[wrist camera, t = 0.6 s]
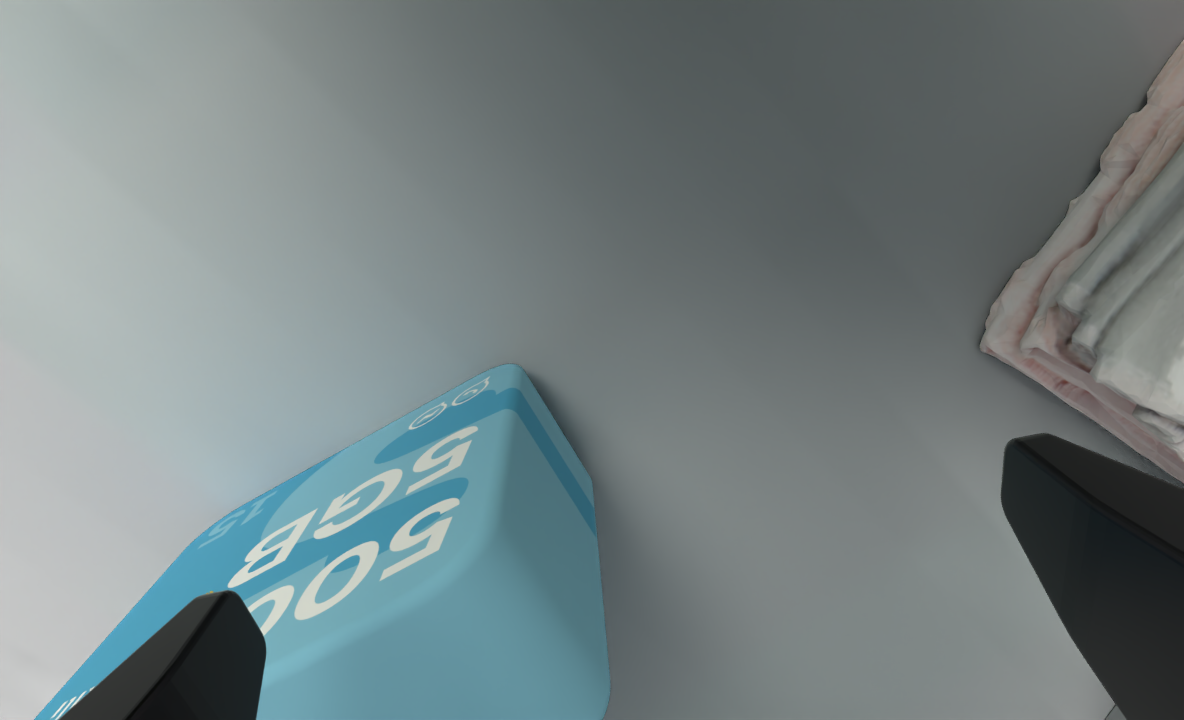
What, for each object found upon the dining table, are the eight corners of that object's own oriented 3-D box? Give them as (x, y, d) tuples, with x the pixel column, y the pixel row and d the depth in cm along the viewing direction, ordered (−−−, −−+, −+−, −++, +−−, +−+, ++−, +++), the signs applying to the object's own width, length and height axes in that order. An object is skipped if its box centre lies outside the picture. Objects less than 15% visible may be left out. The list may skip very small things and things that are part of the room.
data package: (522, 348, 24) (486, 557, 12) (593, 464, 25) (622, 754, 13) (203, 525, 25) (-102, 865, 13) (286, 627, 26) (72, 1019, 15)
